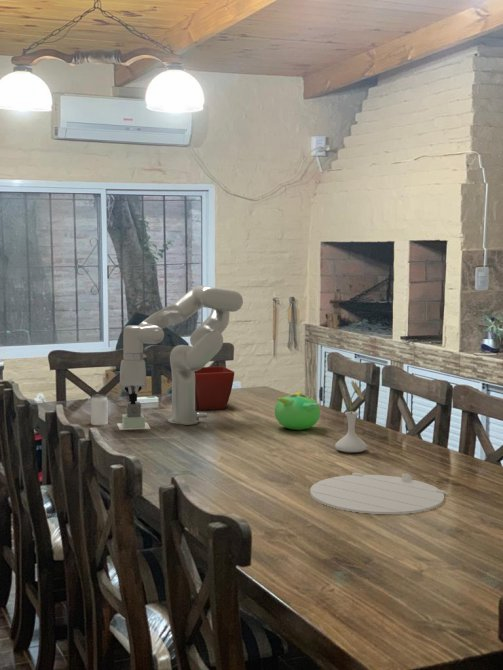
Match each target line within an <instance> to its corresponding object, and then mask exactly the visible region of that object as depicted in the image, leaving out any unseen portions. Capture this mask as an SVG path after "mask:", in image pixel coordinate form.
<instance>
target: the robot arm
mask: <svg viewBox="0 0 503 670" xmlns="http://www.w3.org/2000/svg"><path fill="white" fill-rule="evenodd" d="M243 304H244V300H243V295H241V294H240V292H238V291H236V290H230V289H223V288H218V287H212V286H206V285H197V286H193V287H192V288H191V289H190V290H188V291H187V292H185V293H184V294H183V295H182V296H180V297H179V298H178V299H177V300H175V301H174V302H173V303H171V304H170V305H168V306H165V307H164V308H162V309H160V310H158V311H155V312H154V313H152V314H150V316H148V317H147V318H145V319H144V320H142V322H140V323H139V324H138V325H137V324H135V325H133V324H131V325H126V326H124V327H123V333H122V334H123V341H122V342H123V350H122V351H123V355H122V356H123V359H121V361H120V367H119V386H118V388H119V389H120V390H122V391H123V390H124V391H126V392H127V393H128V402H131V404H135V402H138V394H139V393H140V391H141V390H145V389H147V388H148V385H147V371H146V370H147V369H146V361H145V360H144V358H147V353H144V350H143V349H144V344H147V345H148V344H149V345H156V344H157V345H158V344H159V343H161V342H162V341H163V340H164V337H165V332H164V330H163V329H165V328H167V327H170V326H174V325H178V324H181V323H183V322H186V321H187V320H188V319H189V318H190V317H192V316H193V315H194V314H195V313H197V312H198V311H200V310H201V309H202V308H206V309H207V308H208V309H211V311H210V314H209V315H208V316H207V318H206V319H205V320H204V321H203V322H202V323H201V324H200V325H199V326H198V327H197V328H196V329H195V330H194V331H193V332H192V333H191V335H190V338H189V341H190V344H191V346H190V345H185V344H178V345H176V346H174V347H173V348H172V350H171V352H170V354H169V364H170V370H171V417H170V418H168V420H167V422H168V423H171V424H177V425H184V426H189V425H190V426H191V425H197V424H199V423H200V418H202V419H203V418H204V419H205V418H206V419H207V417H208V415H207V412H197V410H196V408H195V372H194V371H198V370H200V369H201V368H203V367H206V365H207V364H208V363H209V362H210V361H211V360H212V359H213V358H214V357H215V356H216V355H217V354H218V353H219V352H220V351H221V349H222V347H223V344H224V337H223V334H222V333H223V332H224V331H226V328H227V327H228V325H229V322H230V312H233V313H234V312H237V311H238V310H240V309H241V308H242V306H243ZM132 387H134V390H133V391H132Z"/></svg>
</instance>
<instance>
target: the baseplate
mask: <svg viewBox="0 0 503 670" xmlns="http://www.w3.org/2000/svg"><path fill="white" fill-rule="evenodd" d="M116 425H117V427H118V430H119V431H123V430H126V431H127V430H150V429H152V428H151V427H150V425H149V423H148V422H146V421H145V428H124V427H123V425H122V422H121V423H119V422H118V423H116Z"/></svg>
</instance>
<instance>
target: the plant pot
mask: <svg viewBox="0 0 503 670" xmlns="http://www.w3.org/2000/svg"><path fill="white" fill-rule="evenodd" d="M194 372H195V410H196V411H197V410H198V411H204V410H205V411H207V410H223V409H226V408H227V406H228V403H229V400H230V396H231V393H232V389H233V383H234V378H235V371H234V370H232V369H229V368H227V367H225V366H204V367H203V368H201V369H200V370H198V371H194Z"/></svg>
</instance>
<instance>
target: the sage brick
mask: <svg viewBox="0 0 503 670" xmlns="http://www.w3.org/2000/svg"><path fill="white" fill-rule="evenodd" d="M121 421H122V422H121V423H122V425H123V427H124V428H145V422H146V417H145V416H144V414H143V413H141V417H128V416H127V413H126V414H124V413H122V415H121Z"/></svg>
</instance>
